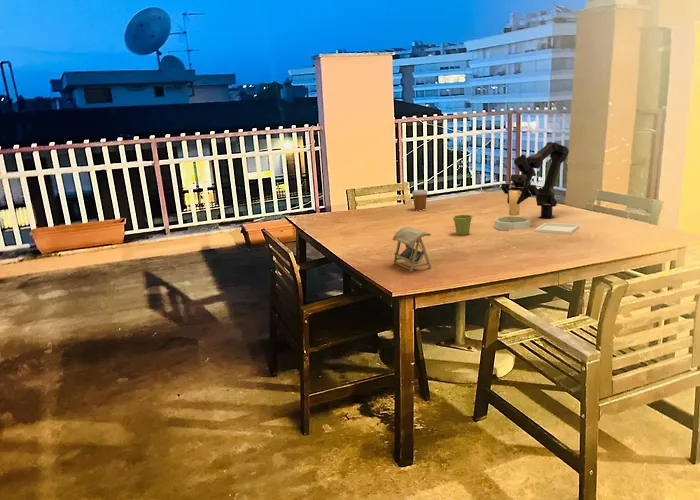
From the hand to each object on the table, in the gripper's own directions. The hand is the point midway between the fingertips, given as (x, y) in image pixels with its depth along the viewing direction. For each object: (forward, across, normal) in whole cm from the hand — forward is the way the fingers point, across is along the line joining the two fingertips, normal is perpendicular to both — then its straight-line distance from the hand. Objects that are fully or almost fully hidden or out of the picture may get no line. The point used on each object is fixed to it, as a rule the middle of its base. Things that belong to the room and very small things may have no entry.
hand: (512, 203), depth 264 cm
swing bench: (+64, +5, -47) cm, 79 cm away
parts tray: (+5, +21, +13) cm, 25 cm away
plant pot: (+25, -13, -7) cm, 29 cm away
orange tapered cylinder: (+3, 0, +5) cm, 6 cm away
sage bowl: (+8, -1, +10) cm, 13 cm away
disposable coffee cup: (-1, -74, +19) cm, 76 cm away
